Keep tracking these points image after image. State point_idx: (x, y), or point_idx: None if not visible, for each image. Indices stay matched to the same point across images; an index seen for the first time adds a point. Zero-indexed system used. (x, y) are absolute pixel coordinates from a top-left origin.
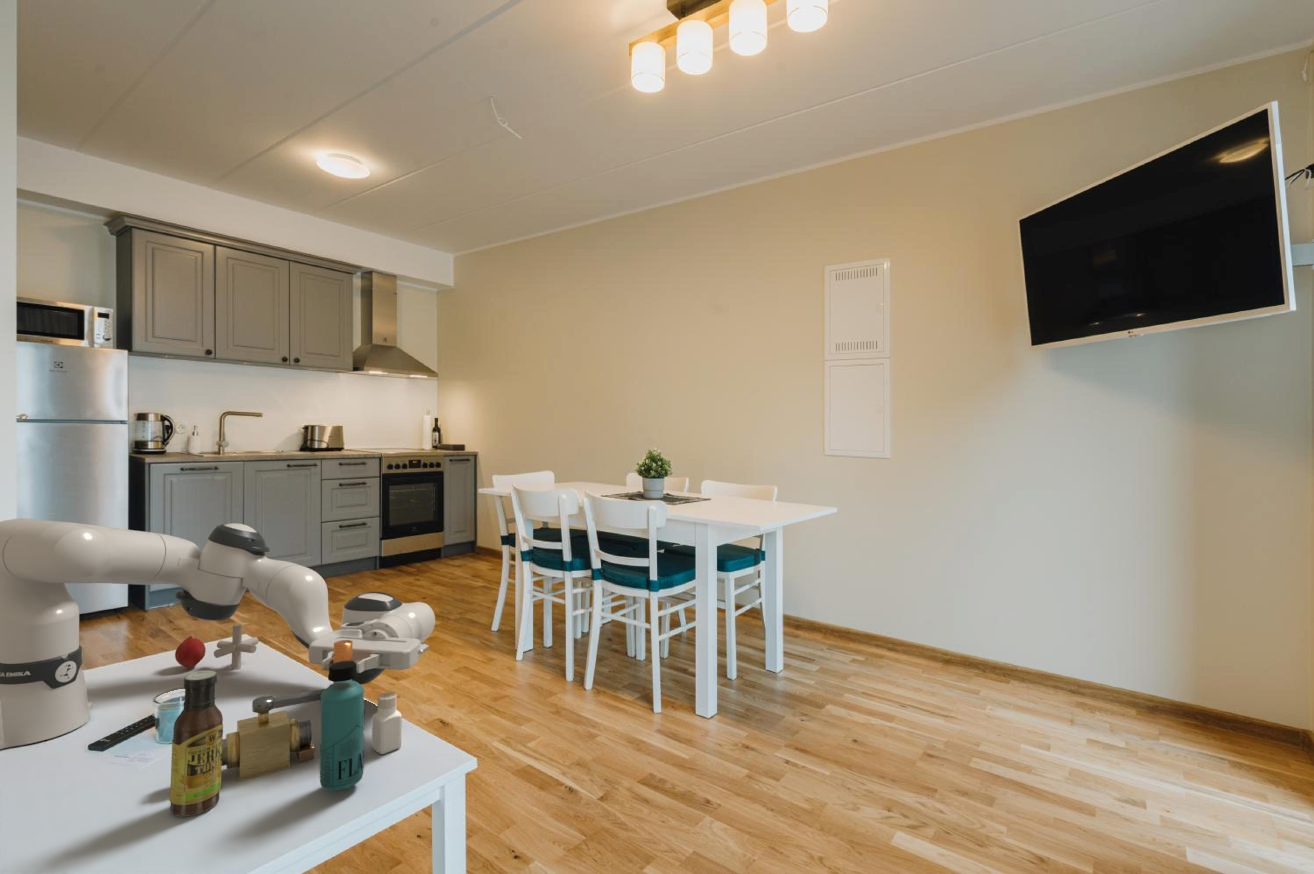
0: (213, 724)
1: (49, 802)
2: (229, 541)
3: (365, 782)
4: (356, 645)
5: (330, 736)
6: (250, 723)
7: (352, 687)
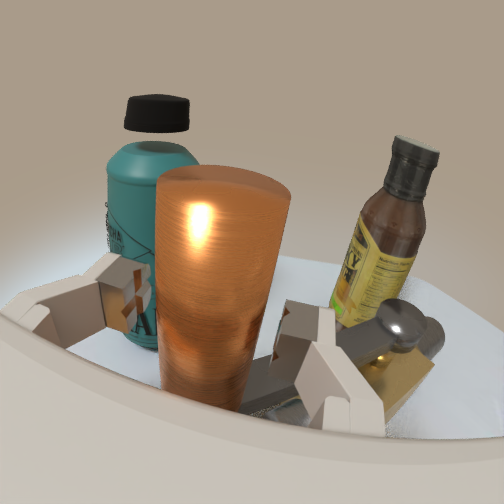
0: (363, 207)
1: (493, 340)
2: None
3: (117, 342)
4: (162, 458)
5: None
6: (399, 354)
7: (132, 143)
